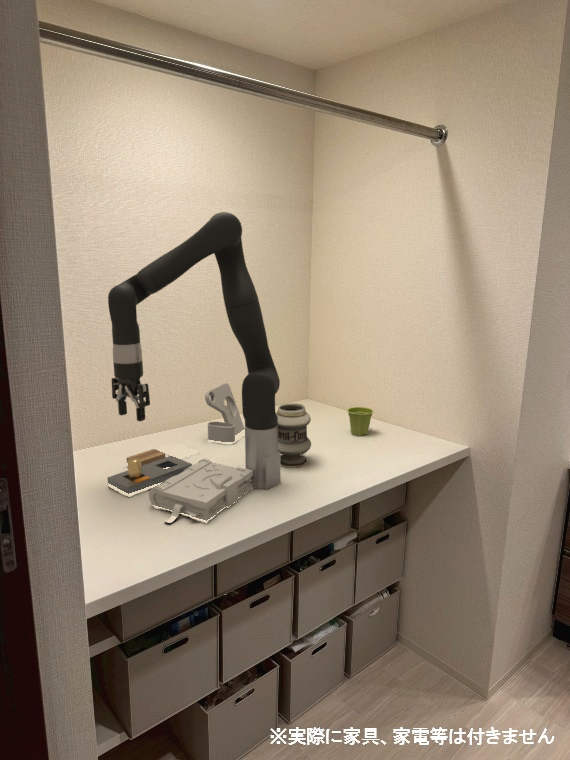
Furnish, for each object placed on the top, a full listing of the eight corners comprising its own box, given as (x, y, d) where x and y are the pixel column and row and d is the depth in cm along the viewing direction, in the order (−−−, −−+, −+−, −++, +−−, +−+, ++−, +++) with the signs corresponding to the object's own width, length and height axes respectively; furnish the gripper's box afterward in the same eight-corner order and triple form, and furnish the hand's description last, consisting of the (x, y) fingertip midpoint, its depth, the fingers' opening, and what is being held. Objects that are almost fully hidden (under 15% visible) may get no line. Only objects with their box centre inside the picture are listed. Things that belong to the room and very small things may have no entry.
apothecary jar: (264, 461, 173) (264, 406, 169) (291, 451, 181) (291, 399, 177) (292, 471, 165) (292, 414, 160) (318, 461, 173) (319, 406, 169)
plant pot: (345, 428, 204) (346, 406, 202) (370, 429, 204) (371, 406, 202) (347, 437, 195) (348, 414, 193) (373, 437, 195) (374, 414, 193)
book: (134, 517, 137) (133, 488, 135) (200, 476, 162) (199, 452, 160) (198, 536, 129) (197, 506, 127) (256, 490, 153) (257, 465, 151)
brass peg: (145, 486, 154) (143, 459, 153) (134, 490, 152) (132, 463, 150) (137, 482, 157) (136, 456, 155) (126, 486, 154) (124, 460, 152)
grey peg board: (192, 473, 163) (192, 462, 163) (128, 497, 147) (127, 486, 146) (171, 464, 170) (171, 454, 169) (108, 487, 154) (107, 476, 153)
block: (165, 462, 172) (165, 453, 171) (138, 471, 164) (137, 462, 164) (154, 457, 175) (153, 448, 175) (127, 466, 168) (126, 457, 167)
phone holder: (231, 445, 186) (230, 394, 182) (204, 442, 190) (203, 392, 186) (251, 430, 202) (251, 383, 198) (227, 427, 206) (226, 381, 201)
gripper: (155, 360, 144) (159, 419, 148) (124, 354, 153) (128, 409, 157) (131, 365, 139) (135, 426, 143) (100, 358, 148) (105, 415, 152)
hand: (131, 417), depth 150 cm, fingers open, 8 cm apart
